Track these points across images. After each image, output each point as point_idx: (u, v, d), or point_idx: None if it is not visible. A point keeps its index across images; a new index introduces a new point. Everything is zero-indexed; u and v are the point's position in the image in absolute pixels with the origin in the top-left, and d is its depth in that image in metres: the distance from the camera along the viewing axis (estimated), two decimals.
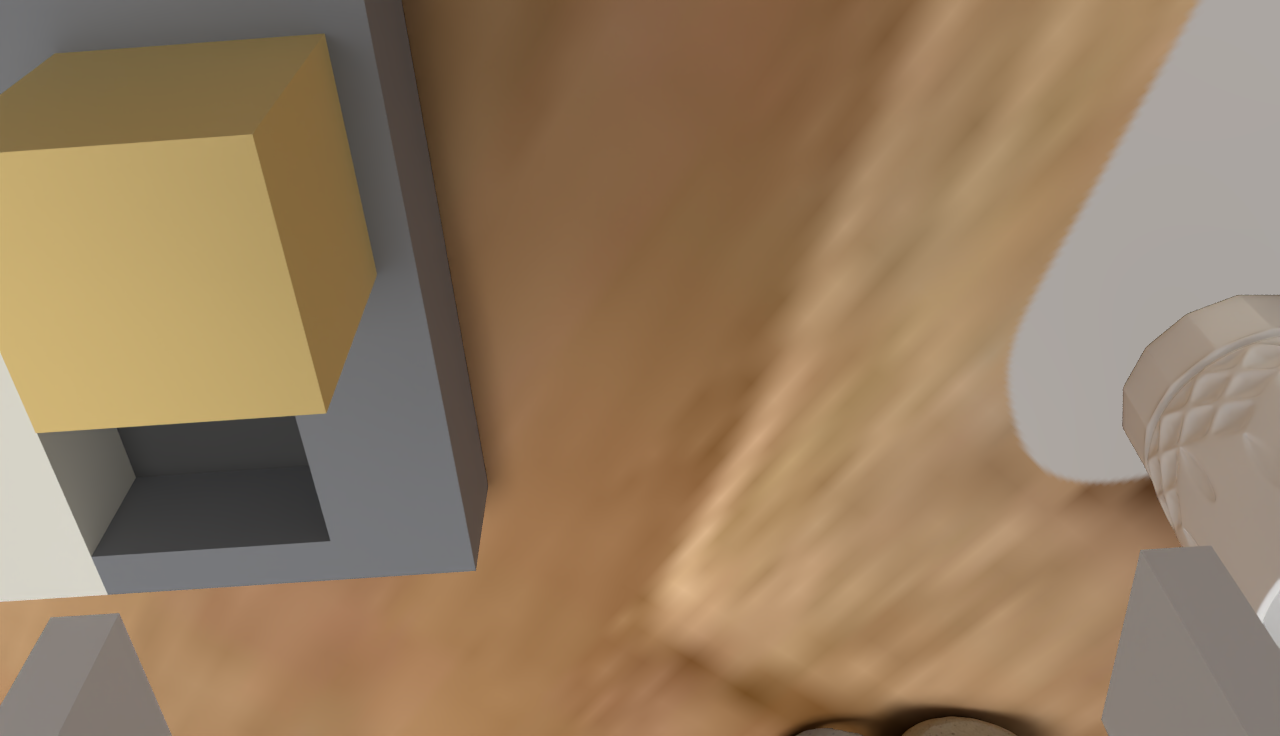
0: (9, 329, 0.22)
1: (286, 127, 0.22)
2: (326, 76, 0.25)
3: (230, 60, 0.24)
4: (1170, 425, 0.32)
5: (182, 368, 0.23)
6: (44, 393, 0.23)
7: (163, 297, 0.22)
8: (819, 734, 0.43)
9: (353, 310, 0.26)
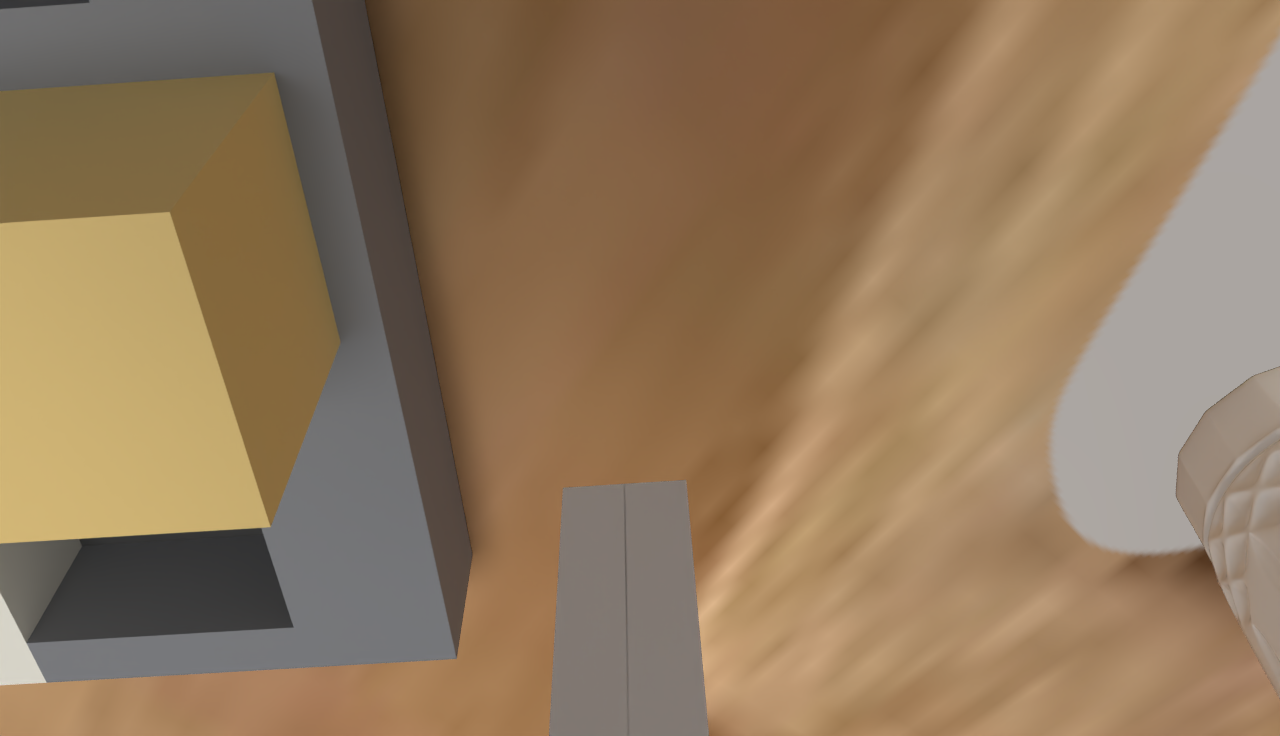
0: None
1: (218, 194, 0.18)
2: (275, 123, 0.21)
3: (159, 107, 0.20)
4: (1237, 505, 0.29)
5: (97, 477, 0.19)
6: None
7: (70, 398, 0.18)
8: None
9: (308, 392, 0.22)
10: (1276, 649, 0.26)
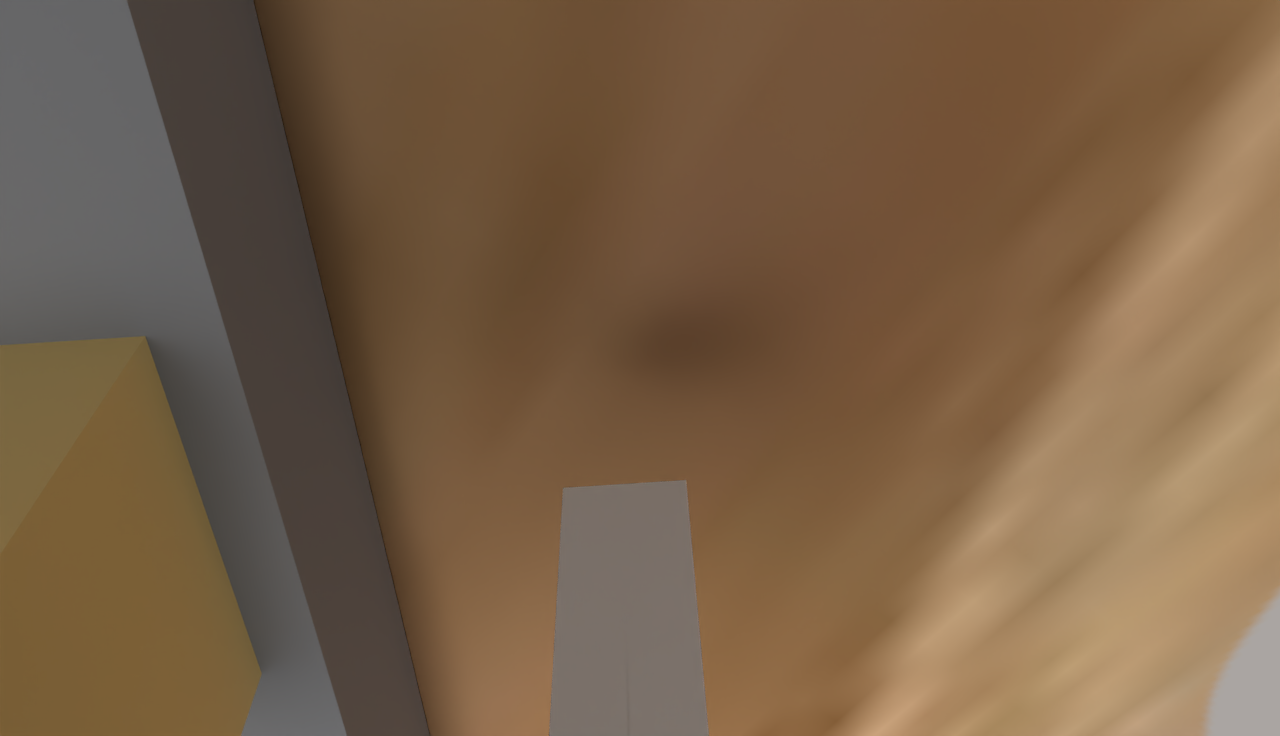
0: None
1: (15, 612, 0.11)
2: (146, 415, 0.14)
3: None
4: None
5: None
6: None
7: None
8: None
9: None
10: None
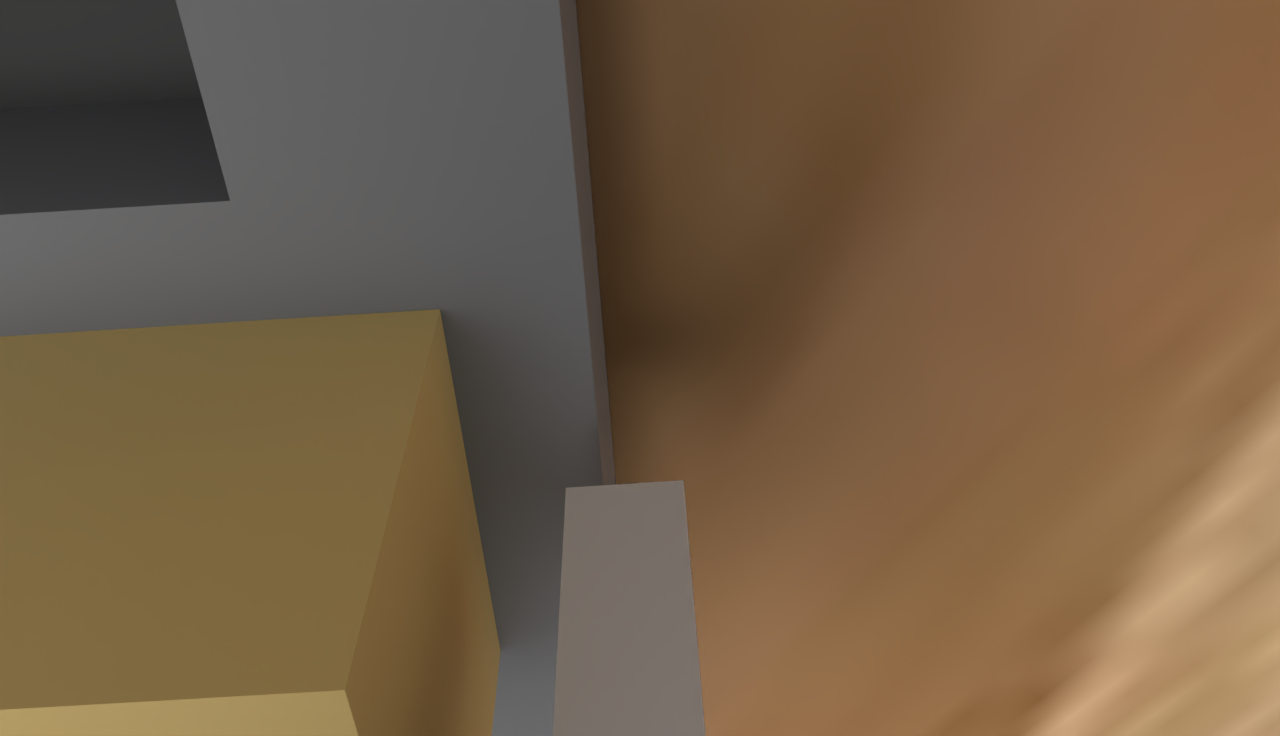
0: None
1: (395, 578, 0.11)
2: (443, 387, 0.14)
3: (275, 385, 0.13)
4: None
5: None
6: None
7: None
8: None
9: None
10: None
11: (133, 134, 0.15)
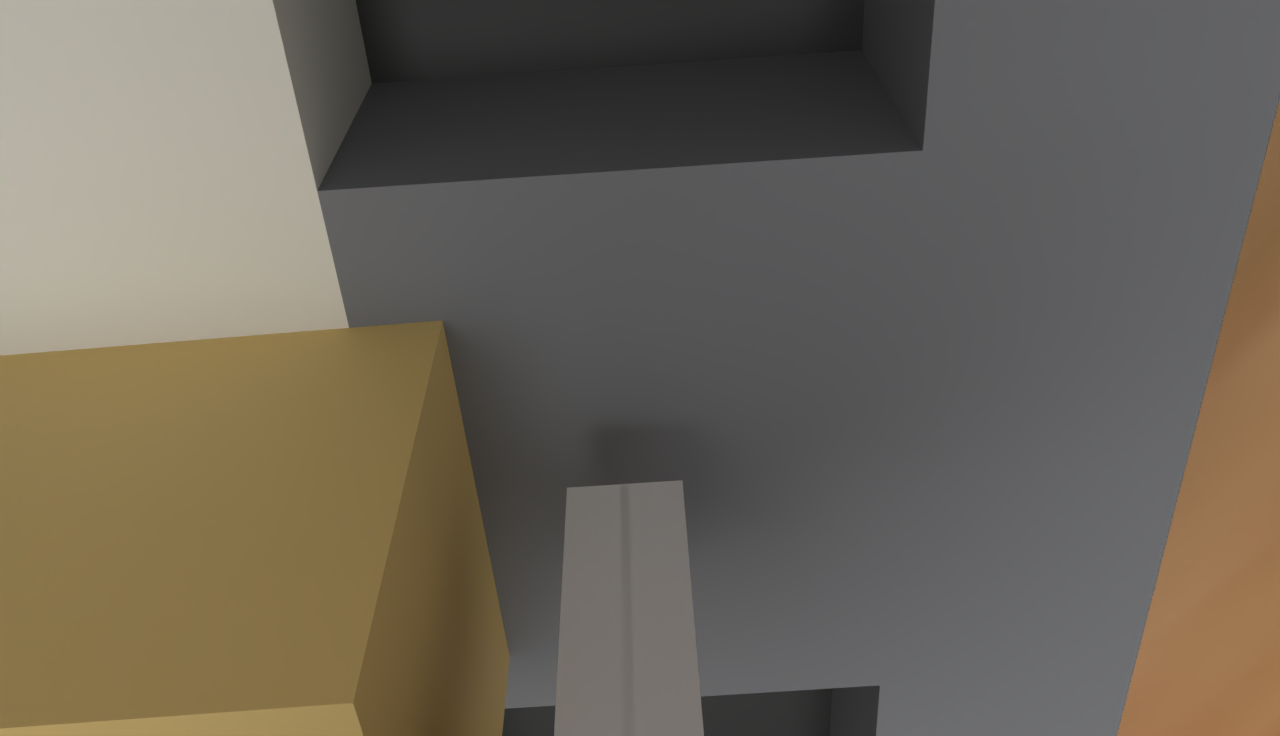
0: None
1: (402, 590, 0.11)
2: (447, 398, 0.14)
3: (281, 399, 0.13)
4: None
5: None
6: None
7: None
8: None
9: None
10: None
11: (733, 91, 0.15)
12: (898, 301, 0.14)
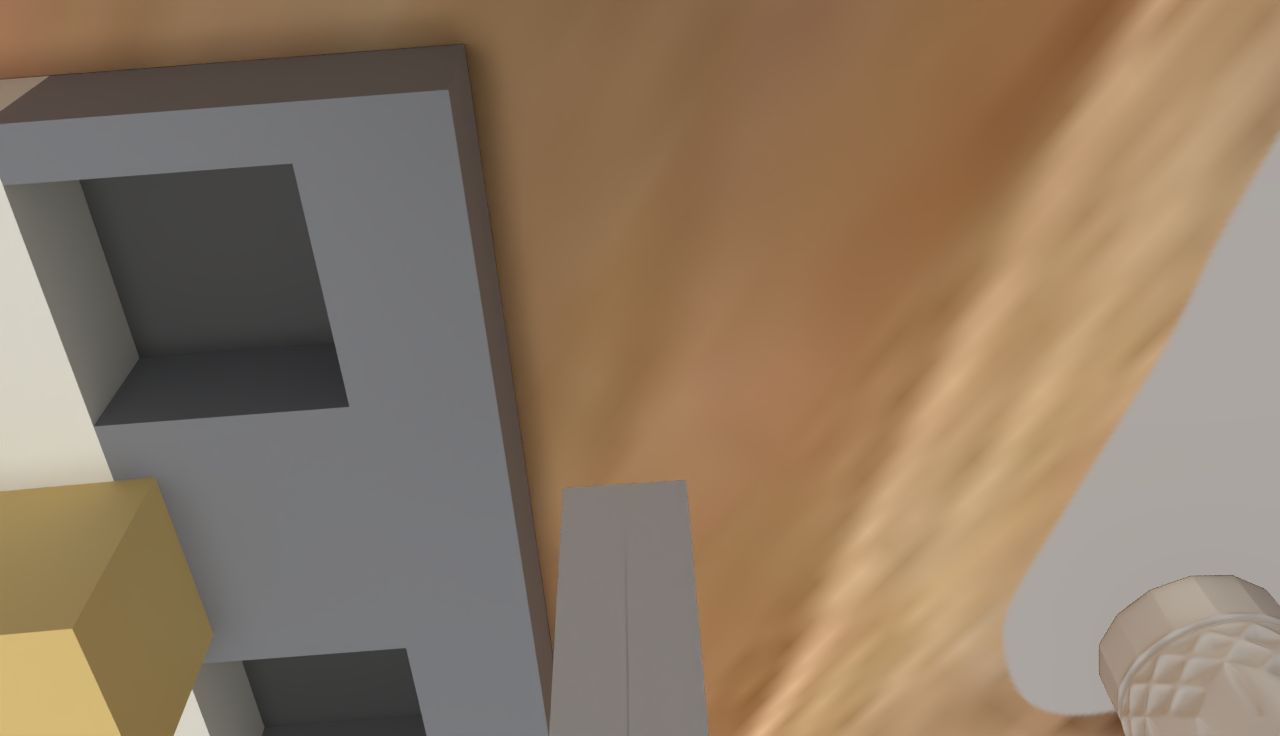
0: None
1: (109, 592, 0.29)
2: (156, 512, 0.32)
3: (75, 515, 0.31)
4: (1138, 693, 0.39)
5: None
6: None
7: (14, 728, 0.28)
8: None
9: (183, 686, 0.33)
10: None
11: (297, 368, 0.33)
12: (357, 466, 0.32)
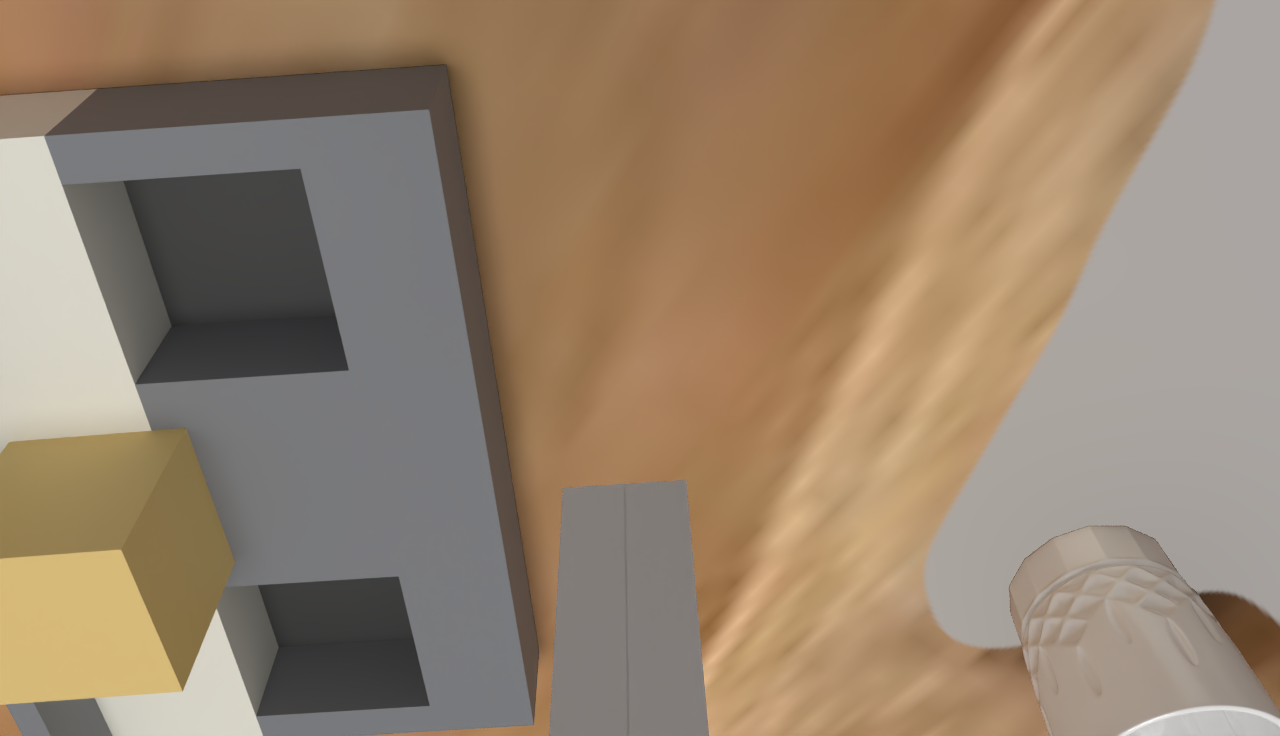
0: None
1: (149, 522, 0.35)
2: (187, 457, 0.38)
3: (120, 459, 0.37)
4: (1036, 626, 0.45)
5: (88, 668, 0.35)
6: (1, 683, 0.36)
7: (73, 631, 0.35)
8: None
9: (210, 604, 0.39)
10: (1049, 722, 0.42)
11: (305, 336, 0.39)
12: (356, 420, 0.38)
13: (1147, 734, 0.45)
